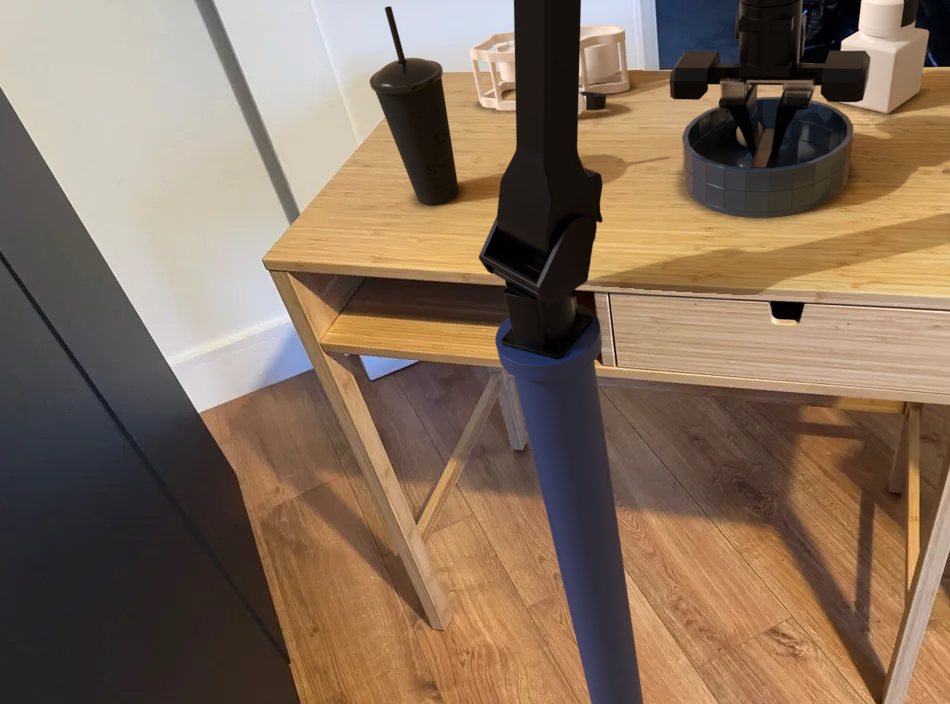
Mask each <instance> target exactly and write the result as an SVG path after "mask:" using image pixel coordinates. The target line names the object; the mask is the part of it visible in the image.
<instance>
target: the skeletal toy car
mask: <svg viewBox="0 0 950 704" xmlns="http://www.w3.org/2000/svg"><path fill="white" fill-rule="evenodd" d="M493 46H495V51H494V50H491V49H492V48H493ZM626 47H627V46H626V29H625V28H623V27H621V26H619V25H615V24H587V25H580V62H579V86H582V87H579V92H594V93H602V94H606V95H607V94H618V93H623V92H626V91H628V90H630V78H629V75H628V74H629V72H628V60H627V49H626ZM469 56H470V63H471V66H472V72H473V76H474V81H475V86H476V90H477V95H478V100H479V103H480V105H481V106H482V107H484V108H487V109H495V110H497V111H510V112H511V111H516V100H505V99H503V97H502V94H503V93H504V92H505V91H510V90H515V41H514V30H510V31H502V32H497V33H491V34H489V35H488V36H487V38H486V39H484V40H482V41H481V42H480V43H478V44H475V45H472V46H470V47H469ZM479 61H486V63H488V67H489V71H490V76H491V82H492V86H493V88H491V89H490V90H489V91H487V92H485V90H484V85H483V80H482V76H481V71H480V66H479V65H480V64H479ZM496 63H498V69H499V74H500V78H501V79H502V81H500V80H499V76H498V71H497V65H496ZM620 70H621V71H620ZM619 71H620V72H621V74H619V73H618V72H619ZM592 84H595V85H592ZM589 85H591V86H589Z"/></svg>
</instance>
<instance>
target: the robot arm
mask: <svg viewBox="0 0 950 704" xmlns="http://www.w3.org/2000/svg"><path fill="white" fill-rule="evenodd" d="M803 1H804V0H739V5H737V11H736V17H735V23H734V24H735V25H734V39H735V40H736V41H738V63H737V62H735V63H732V62H731V63H729V62H727V63H725V62H724V63H723V62H722V63H721V55H720V52H719V51H718V50H686V51H684V53H683V54H682V55H681V56H680V58H679V59H678V60H677V62H676V64H675V65H674V67H673V69H672V70H671V72H670V76H669V97H670V98H671V99H673V100H685V101H686V100H688V101H689V100H693V101H699V100H701V99H702V98H703V97H704V95H706V94H707V92H708V91H709V85H715V86H716V85H719V86H720V97H719V100H718V106H719V107H720V108H727V109H728V110H729V112H730V113H731V115H732V117H733V118H734V120H735V122H736V123H737V125H738V126H739V128H740V130H741V132H742V135H743V137H744V139H745V141H746V144H747V146H748V148H749V151H750V153H751V156H752V158H754V155H755V153H756V151H757V148H758V146H759V127H758V113H757V98H758V88H759V87H758V86H782V93H781V96H780V97H781V98H780V101H779V103H778V107H777V114H776V121H775V128H774V134H773V141H772V148H771V152H772V160H776V157H777V155H778V152H779V149H780V146H781V144H782V141H783V138H784V135H785V133H786V130H787V128H788V126H789V125H790V123H791V121H792V119H793V117H794V116H795V114H796V112H797V111H798V110H805V109H807V108H809V105H810V102H811V100H812V99H813V96H814V94H815V91H816V87H817V86H818V87H820V93H819V94H820V95H821V96H822V97H823V98H824V99H825V101H826V102H828V103H839V102H859V101H862V100H863V98H864V94H865V90H866V86H867V82H868V77H869V68H870V56H869V55H868V54H867V52H866V51H841V50H829V52H828V54H827V57H826V60H825V63H814V62H813V63H811V62H810V63H809V62H805V63H804V62H803V63H802V62H800V58H803V56H804V54H805V40H806V26H807V18H808V16H807V15H806V14H803ZM581 14H582V0H513V31H514V41H515V89H514V91H515V92H514V93H515V101H516V110H515V135H516V139H515V140H516V142H515V145H516V146H515V150H514V151H515V152H514V154H513V155H512V157H511V158H510V161H509V163H508V165H507V167H506V168H505V170H504V173H503V175H502V176H501V179H500V185H499V192H498V193H499V194H498V202H497V212H496V217H495V219H494V221H493V224H492V226H491V228H490V230H489V233H488V235H487V237H486V239H485V241H484V244H483V246H482V248H481V251H480V252H479V255H478V260H479V261H480V263H481V264H482V265H483V267H484V268H485V269H486V271H487V272H488V273H489V274H491V275H495V276H497V277H499V278H500V279H502V280H504V282H505V283H504V284H505V289H504V290H503V297H504V300H505V306H506V310H507V314H508V317H509V319H510V323H511V329H510V330H509V331H508V332H507V334H506V335H505V336H504V337H503V338H502V339H501V342H502V345H503V346H506V347H510V348H514V349H518V350H521V351H525V352H529V353H533V354H537V355H541V356H545V357H549V358H552V359H561V358H562V357H563V356H564V355H565V354H566V353H567V351H568V350H569V349H570V348H571V347H572V345H573V344H574V343H575V342H576V341H577V340H578V338H579V337H580V336H581V335H582V334H583V332H584V331H585V330H586V329H587V328H588V326H589V325H590V324H591V323H592V316H591V315H588V314H584V313H580V312H577V309H578V305H577V304H578V299H577V293H576V289H578V288H579V287H581V286H582V285H584V284H586V283H587V282H588V281H589V275H590V267H591V262H592V261H591V260H592V254H593V248H594V242H595V240H596V234H597V228H598V223H600V224H602V222H603V220H604V219H603V216H602V212H601V199H602V193H603V187H604V184H603V179H602V174H601V173H600V172H597V171H594V170H592V169H590V168H587V167H585V166H584V164H583V162H582V160H581V158H580V155H579V148H578V141H579V140H578V138H579V137H578V136H579V135H578V134H579V115H578V102H579V88H580V85H579V76H580V75H579V62H580V26H581V23H582V22H581V20H582V19H581V17H582V15H581Z"/></svg>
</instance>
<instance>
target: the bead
mask: <svg viewBox="0 0 950 704" xmlns="http://www.w3.org/2000/svg"><path fill="white" fill-rule="evenodd" d="M758 127H759V143H760V141H761V139H762V136H763V127H762V125H761V124H760V123H759V122H758ZM736 139H737V141H738V143H739V144H740V145H741V146H743V147H746V148H748V146H747V144H746V141H745V139H744V137H743V135H742V132H741V130H740V128H739V126H738V127H737V130H736Z"/></svg>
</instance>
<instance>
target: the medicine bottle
mask: <svg viewBox="0 0 950 704" xmlns="http://www.w3.org/2000/svg"><path fill="white" fill-rule="evenodd" d="M918 7H919V0H861V1H860V11H859V19H858V31H856V32H855V33H853V34H851V35H849V36H848V37H846V38H844V39H843V40H841V43H840V51H866V52H867V54H868V55H869V56H870V68H869V77H868V82H867V86H866V90H865V94H864V98H863V100H862V101H859V102H838V103H839V104H843V105H848V106H852V107H855V108H861V109H865V110H869V111H873V112H878V113H882V114H885V115H886V114H889V113H891V112H892V111H894V110H895V109H896V108H898V107H900V106H901V105H903V104H904V103H906V102H907V101H908V100H910V99H911V98H913V97H914V96H916V95H917V94H919V92H920V89H921V84H922V79H923V72H924V66H925V60H926V56H927V55H926V54H927V48H928V43H929V36H930V31H929V30H928V29H925V28H918V27H915V26H916V20H917V13H918Z"/></svg>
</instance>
